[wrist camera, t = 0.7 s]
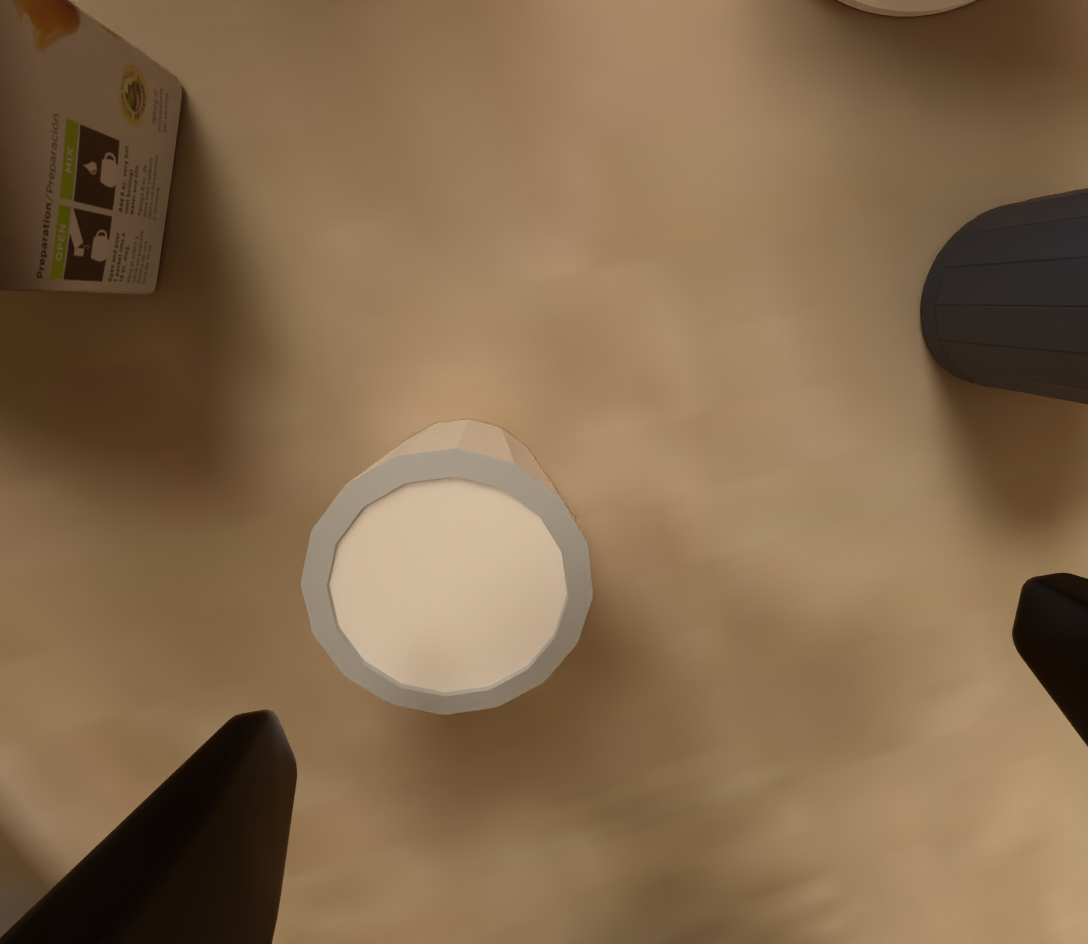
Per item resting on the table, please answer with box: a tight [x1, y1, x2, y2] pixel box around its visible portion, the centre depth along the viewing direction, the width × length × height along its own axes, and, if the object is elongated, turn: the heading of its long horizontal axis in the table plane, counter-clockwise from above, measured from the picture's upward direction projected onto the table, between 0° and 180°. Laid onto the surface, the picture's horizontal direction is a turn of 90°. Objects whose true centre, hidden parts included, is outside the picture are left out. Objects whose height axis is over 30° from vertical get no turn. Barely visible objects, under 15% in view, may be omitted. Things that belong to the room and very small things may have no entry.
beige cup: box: [301, 419, 593, 715], centre depth 18 cm, size 7×7×7 cm
